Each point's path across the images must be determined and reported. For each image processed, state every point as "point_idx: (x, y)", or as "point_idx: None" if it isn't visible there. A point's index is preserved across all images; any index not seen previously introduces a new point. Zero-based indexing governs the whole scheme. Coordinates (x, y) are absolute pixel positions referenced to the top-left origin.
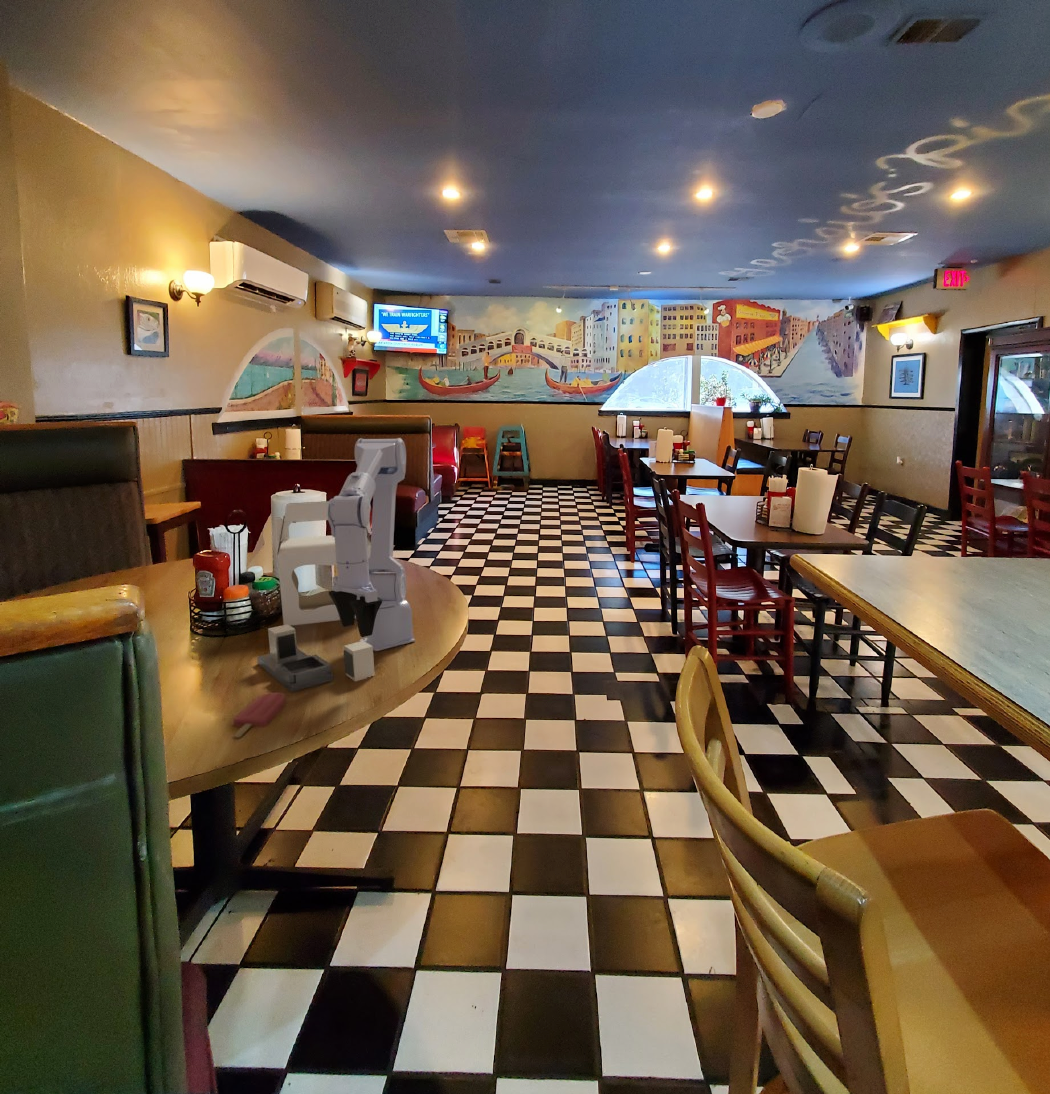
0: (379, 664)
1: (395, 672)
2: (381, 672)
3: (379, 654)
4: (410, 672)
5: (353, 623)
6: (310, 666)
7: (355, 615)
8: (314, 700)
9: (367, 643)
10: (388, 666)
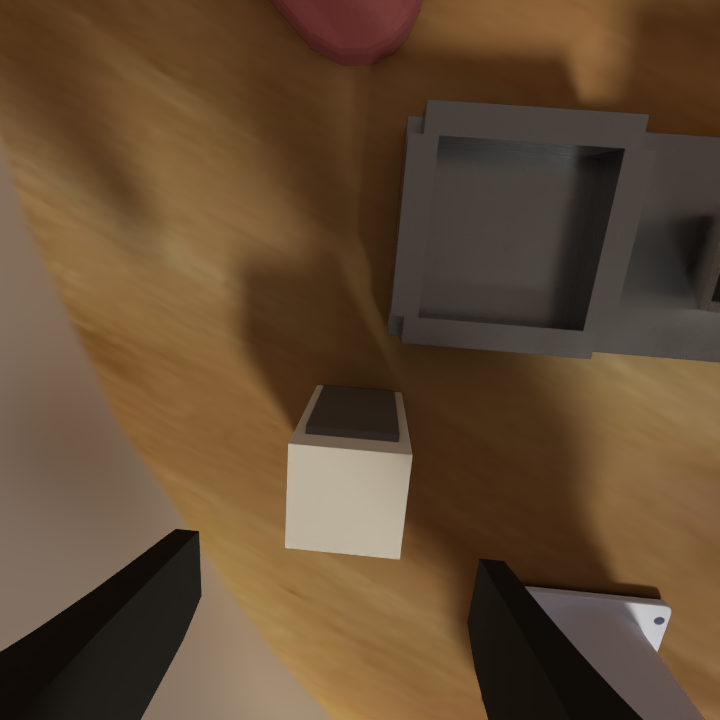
0: None
1: None
2: None
3: None
4: (252, 554)
5: (471, 632)
6: (541, 300)
7: (36, 692)
8: (256, 169)
9: (344, 552)
10: None
